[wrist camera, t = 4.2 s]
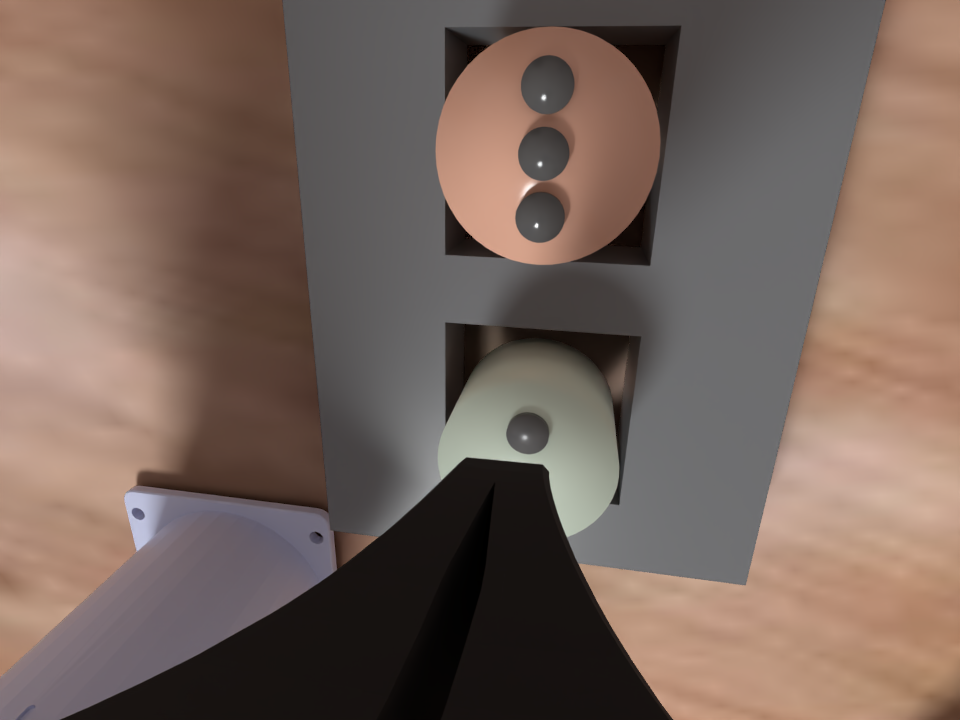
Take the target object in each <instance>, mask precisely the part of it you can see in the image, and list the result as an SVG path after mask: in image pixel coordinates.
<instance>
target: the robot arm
mask: <svg viewBox="0 0 960 720" xmlns="http://www.w3.org/2000/svg"><path fill="white" fill-rule="evenodd" d="M124 500H125V505H126V509H127V513H128V517H129V521H130V525H131V529H132V533H133V538H134V542H135V546H136V550H137V552H136V553H135V554H134V555H133V556H132V557H131V558H130V559H129V560H127V561H126V562H125V563H124V564H123V565H122V566H121V567H120V568H119V569H118V570H117V571H115V572H114V573H113V574H112V575H111V576H110V577H109V578H108V579H107V580H106V581H105V582H104V583H102V584H101V585H100V586H99V587H98V588H97V589H96V590H95V591H94V592H93V593H92V594H90V595H89V596H88V597H87V598H86V599H85V600H84V601H83V602H82V603H81V604H80V605H78V606H77V607H76V608H75V609H74V610H73V611H72V612H71V613H70V614H69V615H68V616H66V617H65V618H64V619H63V620H62V621H61V622H60V623H59V624H58V625H57V626H56V627H55V628H53V629H52V630H51V631H50V632H49V633H48V634H47V635H46V636H45V637H44V638H43V639H41V640H40V641H39V642H38V643H37V644H36V645H35V646H34V647H33V648H32V649H31V650H29V651H28V652H27V653H26V654H25V655H24V656H23V657H22V658H21V659H20V660H19V661H17V662H16V663H15V664H14V665H13V666H12V667H11V668H10V669H9V670H8V671H7V672H6V673H4V674H3V675H2V676H1V677H0V720H673V719H672V718H671V716H670V715H669V714H668V712H667V711H666V710H665V708H664V707H663V706H662V704H661V703H660V702H659V700H658V699H657V697H656V696H655V694H654V693H653V691H652V690H651V688H650V687H649V685H648V684H647V682H646V681H645V679H644V678H643V676H642V675H641V673H640V672H639V670H638V669H637V667H636V666H635V664H634V663H633V661H632V660H631V658H630V657H629V655H628V653H627V652H626V650H625V649H624V647H623V645H622V644H621V642H620V641H619V639H618V637H617V636H616V634H615V632H614V631H613V629H612V627H611V626H610V624H609V622H608V620H607V619H606V617H605V615H604V613H603V611H602V610H601V608H600V606H599V604H598V602H597V601H596V599H595V597H594V595H593V593H592V591H591V589H590V587H589V585H588V583H587V581H586V579H585V577H584V575H583V573H582V571H581V569H580V567H579V564H578V562H577V560H576V558H575V556H574V553H573V551H572V548H571V546H570V544H569V541H568V539H567V536H566V534H565V531H564V529H563V527H562V524H561V521H560V518H559V515H558V512H557V509H556V506H555V503H554V499H553V495H552V491H551V486H550V480H549V471H548V470H547V469H546V467H545V466H544V465H543V464H533V463H522V462H512V461H501V460H491V459H480V458H470V457H466V458H465V459H464V460H462V461H461V462H460V463H459V464H458V465H457V466H456V467H455V468H454V469H453V470H452V471H451V472H449V473H448V474H447V475H446V476H445V477H444V478H443V479H442V480H441V481H440V482H439V483H438V484H437V485H436V486H435V487H434V488H433V489H432V490H431V491H430V492H429V493H428V494H427V495H426V496H425V497H424V498H423V499H422V500H421V501H419V502H418V503H417V504H416V505H415V506H414V507H413V508H412V509H411V510H409V511H408V512H407V513H406V514H405V515H404V516H403V517H402V518H401V519H399V520H398V521H397V522H396V523H395V524H394V525H393V526H392V527H390V528H389V529H388V530H387V531H386V532H385V533H383V534H382V535H381V536H380V537H378V538H377V539H376V540H375V541H373V542H372V543H371V544H370V545H368V546H367V547H366V548H365V549H363V550H362V551H361V552H360V553H358V554H357V555H356V556H355V557H353V558H352V559H351V560H350V561H348V562H347V563H346V564H344V565H343V566H342V567H340V568H339V569H338V570H337V565H336V553H335V542H334V531H331V530H330V522H329V514H328V513H327V512H326V511H324V510H322V509H319V508H312V507H304V506H296V505H289V504H281V503H273V502H265V501H257V500H249V499H241V498H233V497H225V496H217V495H210V494H202V493H194V492H186V491H178V490H170V489H162V488H154V487H146V486H134V487H133V488H131V489H130V490H129V491H127V492H126V494H125V496H124ZM315 532H318V533H320V534H321V535H322V536H323V537H320V536H318V535H317V534H316V533H315Z"/></svg>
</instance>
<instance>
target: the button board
mask: <svg viewBox="0 0 960 720" xmlns="http://www.w3.org/2000/svg"><path fill="white" fill-rule="evenodd" d="M282 1H283V12H284V23H285V34H286V45H287V56H288V67H289V79H290V90H291V101H292V112H293V123H294V134H295V145H296V156H297V167H298V178H299V189H300V201H301V212H302V223H303V234H304V245H305V256H306V267H307V278H308V289H309V300H310V312H311V323H312V334H313V345H314V356H315V367H316V378H317V389H318V400H319V411H320V422H321V434H322V445H323V456H324V467H325V478H326V489H327V500H328V511H329V522H330V530H331V531H339V532H346V533H354V534H362V535H369V536H377V537H380V536H381V535H382V534H383V533H385V532H386V531H387V530H388V529H389V528H390V527H392V526H393V525H394V524H395V523H396V522H397V521H398V520H399V519H401V518H402V517H403V516H404V515H405V514H406V513H407V512H408V511H409V510H411V509H412V508H413V507H414V506H415V505H416V504H417V503H418V502H419V501H421V500H422V499H423V498H424V497H425V496H426V495H427V494H428V493H429V492H430V491H431V490H432V489H433V488H434V487H435V486H436V485H437V484H438V483H439V482H440V481H441V477H440V472H439V468H438V447H439V442H440V438H441V435H442V433H443V430H444V428H445V426H446V424H447V422H448V419H449V417H450V415H451V413H452V411H453V409H454V407H455V405H456V403H457V401H458V399H459V397H460V395H461V393H462V391H463V384H464V324H475V325H489V326H502V327H516V328H530V329H544V330H558V331H572V332H586V333H599V334H613V335H627V336H630V338H629V346H628V354H627V363H626V371H625V379H624V387H623V395H622V404H621V412H620V420H619V428H618V436H617V449H618V459H619V479H618V484H617V488H616V491H615V494H614V496H613V499H612V500H611V502H610V504H609V506H608V507H607V509H606V510H605V511H604V512H603V514H602V515H601V516H600V517H599V518H598V519H597V520H596V521H595V522H594V523H592V524H591V525H589V526H588V527H587V528H585V529H583V530H582V531H580V532H578V533H576V534H574V535H571V536H569V537H567V539H568V541H569V544H570V546H571V548H572V551H573V553H574V556H575V558H576V560H577V562H578V563H581V564H588V565H596V566H603V567H611V568H619V569H626V570H634V571H641V572H649V573H656V574H664V575H671V576H679V577H687V578H694V579H702V580H709V581H717V582H724V583H732V584H739V585H746V581H747V577H748V573H749V569H750V565H751V561H752V556H753V552H754V548H755V544H756V540H757V536H758V531H759V527H760V523H761V519H762V515H763V510H764V506H765V502H766V498H767V494H768V490H769V485H770V481H771V477H772V473H773V469H774V465H775V460H776V456H777V452H778V448H779V444H780V439H781V435H782V431H783V427H784V423H785V419H786V414H787V410H788V406H789V402H790V398H791V394H792V389H793V385H794V381H795V377H796V373H797V369H798V364H799V360H800V356H801V352H802V348H803V343H804V339H805V335H806V331H807V327H808V323H809V318H810V314H811V310H812V306H813V302H814V298H815V293H816V289H817V285H818V281H819V277H820V272H821V268H822V264H823V260H824V256H825V252H826V247H827V243H828V239H829V235H830V231H831V227H832V222H833V218H834V214H835V210H836V206H837V201H838V197H839V193H840V189H841V185H842V181H843V176H844V172H845V168H846V164H847V160H848V156H849V151H850V147H851V143H852V139H853V135H854V131H855V126H856V122H857V118H858V114H859V110H860V105H861V101H862V97H863V93H864V89H865V85H866V80H867V76H868V72H869V68H870V64H871V60H872V55H873V51H874V47H875V43H876V39H877V34H878V30H879V26H880V22H881V18H882V14H883V9H884V5H885V1H886V0H282ZM550 26H554V27H568V28H572V29H577V30H581V31H584V32H587V33H590V34H592V35H595V36H597V37H599V38H601V39H603V40H604V41H606V42H608V43H610V44H611V45H665V51H664V59H663V68H662V76H661V84H660V92H659V100H658V108H657V115H658V120H659V126H660V157H659V162H658V167H657V173H656V176H655V179H654V182H653V185H652V188H651V190H650V192H649V195H648V197H647V199H646V207H645V215H644V223H643V231H642V240H641V247H627V246H607V245H606V246H604V247H603V248H601V249H599V250H597V251H596V252H594V253H592V254H590V255H587V256H585V257H582V258H580V259H577V260H573V261H570V262H566V263H560V264H553V265H536V264H527V263H522V262H518V261H514V260H510V259H508V258H505V257H503V256H500V255H498V254H496V253H495V252H493V251H491V250H489V249H487V248H486V247H485V246H483V245H482V244H480V243H479V242H478V241H476V240H475V239H465V229H464V228H463V226H462V225H461V224H460V223H459V221H458V220H457V219H456V217H455V215H454V214H453V212H452V211H451V209H450V207H449V205H448V203H447V201H446V199H445V196H444V194H443V191H442V188H441V185H440V181H439V177H438V171H437V166H436V135H437V129H438V123H439V119H440V116H441V112H442V109H443V106H444V104H445V101H446V99H447V97H448V94H449V92H450V90H451V89H452V87H453V85H454V84H455V82H456V80H457V79H458V77H459V76H460V75H461V73H462V72H463V71H464V70H465V68H466V67H467V45H492V44H494V43H496V42H497V41H499V40H501V39H503V38H505V37H507V36H509V35H512V34H514V33H517V32H520V31H523V30H528V29H532V28H537V27H550Z"/></svg>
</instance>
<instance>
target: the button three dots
mask: <svg viewBox="0 0 960 720" xmlns="http://www.w3.org/2000/svg"><path fill="white" fill-rule="evenodd" d="M659 157H660V126H659V120H658V115H657V110H656V107H655V104H654V101H653V98H652V95H651V92H650V90H649V88H648V87H647V85H646V83H645V81H644V79H643V77H642V76H641V74H640V73H639V72H638V70H637V69H636V67H635V66H634V65H633V64H632V63H631V62H630V61H629V59H628V58H627V57H626V56H625V55H624V54H623V53H621V52H620V51H619V50H618V49H616V48H615V47H614V46H613V45H611V44H610V43H608V42H606V41H604V40H603V39H601V38H599V37H597V36H595V35H592V34H590V33H587V32H584V31H581V30H577V29H572V28H568V27H554V26H550V27H537V28H532V29H528V30H523V31H520V32H517V33H514V34H512V35H509V36H507V37H505V38H503V39H501V40H499V41H497V42H496V43H494V44H492V45H491V46H489V47H488V48H487V49H485V50H484V51H483V52H481V53H480V54H479V55H478V56H477V57H476V58H475V59H474V60H473V61H472V62H471V63H470V64H469V65H468V66H467V67H466V68H465V70H464V71H463V72H462V73H461V75H460V76H459V77H458V79H457V80H456V82H455V84H454V85H453V87H452V89H451V90H450V92H449V94H448V97H447V99H446V101H445V104H444V106H443V109H442V112H441V116H440V119H439V123H438V129H437V135H436V166H437V171H438V177H439V181H440V185H441V188H442V191H443V194H444V196H445V199H446V201H447V203H448V205H449V207H450V209H451V211H452V212H453V214H454V215H455V217H456V219H457V220H458V221H459V223H460V224H461V225H462V226H463V228H464V229H465V230H466V231H467V232H468V233H469V234H470V235H471V236H472V237H473V238H474V239H475V240H476V241H478V242H479V243H480V244H482V245H483V246H485V247H486V248H487V249H489V250H491V251H493V252H495V253H496V254H498V255H500V256H503V257H505V258H508V259H510V260H514V261H518V262H522V263H527V264H536V265H553V264H560V263H566V262H570V261H573V260H577V259H580V258H582V257H585V256H587V255H590V254H592V253H594V252H596V251H597V250H599V249H601V248H603V247H604V246H606V245H607V244H608V243H610V242H611V241H612V240H614V239H615V238H616V237H617V236H618V235H619V234H621V233H622V232H623V231H624V230H625V229H626V228H627V227H628V225H629V224H630V223H631V222H632V220H633V219H634V218H635V217H636V216H637V214H638V212H639V211H640V209H641V208H642V206H643V204H644V203H645V201H646V199H647V197H648V195H649V192H650V190H651V188H652V185H653V182H654V179H655V176H656V173H657V167H658V162H659Z"/></svg>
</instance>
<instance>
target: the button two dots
mask: <svg viewBox="0 0 960 720" xmlns="http://www.w3.org/2000/svg"><path fill="white" fill-rule="evenodd" d="M466 457H470V458H480V459H491V460H501V461H512V462H522V463H533V464H543V465H544V466H545V467H546V469H547V470H548V471H549V480H550V486H551V491H552V495H553V499H554V503H555V506H556V509H557V512H558V515H559V518H560V521H561V524H562V527H563V529H564V531H565V534H566V536H567V537H569V536H571V535H574V534H576V533H578V532H580V531H582V530H583V529H585V528H587V527H588V526H589V525H591V524H592V523H594V522H595V521H596V520H597V519H598V518H599V517H600V516H601V515H602V514H603V512H604V511H605V510H606V509H607V507H608V506H609V504H610V502H611V500H612V499H613V496H614V494H615V491H616V488H617V484H618V479H619V459H618V449H617V439H616V430H615V420H614V411H613V401H612V395H611V391H610V388H609V386H608V383H607V381H606V379H605V377H604V375H603V374H602V372H601V371H600V369H599V368H598V367H597V366H596V364H595V363H594V362H593V361H592V360H590V359H589V358H588V357H587V356H586V355H584V354H583V353H582V352H580V351H579V350H577V349H575V348H573V347H572V346H569V345H567V344H564V343H562V342H559V341H555V340H551V339H543V338H527V339H520V340H515V341H511V342H509V343H506V344H503V345H501V346H499V347H498V348H496V349H494V350H492V351H491V352H490V353H488V354H487V355H486V356H485V357H484V358H483V359H482V360H481V361H480V362H479V363H478V364H477V365H476V367H475V368H474V370H473V371H472V373H471V375H470V377H469V379H468V381H467V383H466V385H465V387H464V389H463V391H462V393H461V395H460V397H459V399H458V401H457V403H456V405H455V407H454V409H453V411H452V413H451V415H450V417H449V419H448V422H447V424H446V426H445V428H444V430H443V433H442V435H441V438H440V442H439V447H438V468H439V472H440V477H441V480H442V479H443V478H444V477H445V476H446V475H447V474H448V473H449V472H451V471H452V470H453V469H454V468H455V467H456V466H457V465H458V464H459V463H460V462H461V461H462V460H464V459H465V458H466Z"/></svg>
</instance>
